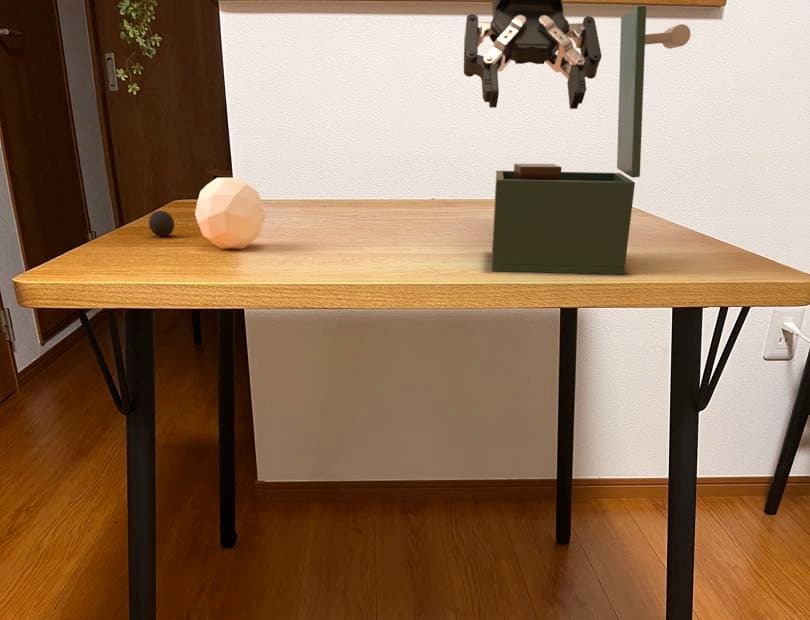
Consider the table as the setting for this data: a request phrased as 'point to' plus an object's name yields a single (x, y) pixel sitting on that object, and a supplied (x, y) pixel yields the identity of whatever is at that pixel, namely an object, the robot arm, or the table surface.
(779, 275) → the table surface
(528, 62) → the robot arm
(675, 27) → the bin lid
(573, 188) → the bin
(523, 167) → the block
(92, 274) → the table surface
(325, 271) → the table surface
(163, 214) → the marker ball
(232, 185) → the geometric ball
